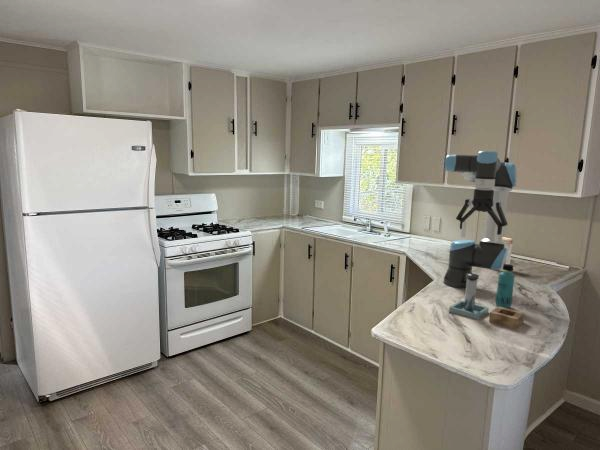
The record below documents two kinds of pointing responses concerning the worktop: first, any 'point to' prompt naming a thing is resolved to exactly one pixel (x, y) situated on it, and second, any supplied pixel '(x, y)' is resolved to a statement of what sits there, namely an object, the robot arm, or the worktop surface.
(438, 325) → the worktop surface
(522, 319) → the socket block
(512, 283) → the beverage bottle
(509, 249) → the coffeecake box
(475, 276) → the steel pin
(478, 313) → the tray
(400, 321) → the worktop surface
